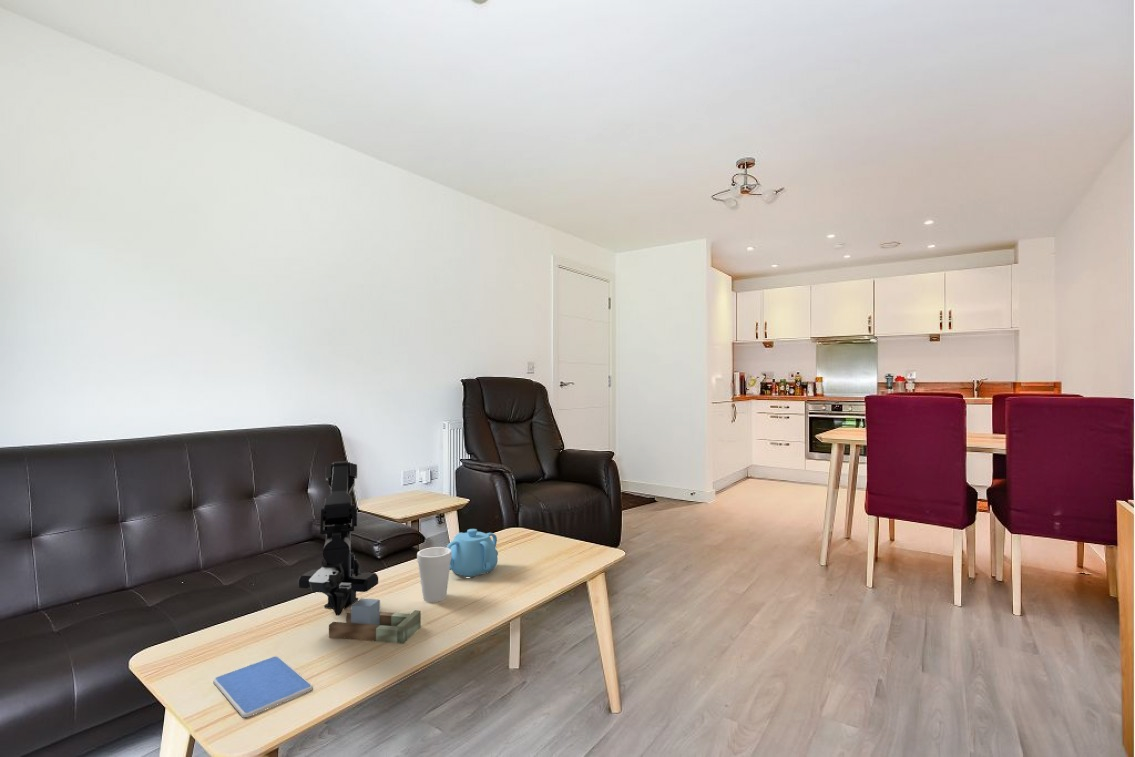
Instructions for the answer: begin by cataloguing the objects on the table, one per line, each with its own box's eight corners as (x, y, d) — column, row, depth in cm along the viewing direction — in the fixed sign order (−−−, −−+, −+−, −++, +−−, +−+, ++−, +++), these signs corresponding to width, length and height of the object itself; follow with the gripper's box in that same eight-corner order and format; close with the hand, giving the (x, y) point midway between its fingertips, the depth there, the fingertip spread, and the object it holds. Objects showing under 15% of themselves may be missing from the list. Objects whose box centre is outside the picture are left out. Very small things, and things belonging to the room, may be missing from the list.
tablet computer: (211, 683, 108) (211, 677, 108) (277, 659, 117) (277, 653, 117) (243, 722, 95) (243, 715, 95) (314, 692, 104) (314, 685, 104)
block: (351, 634, 127) (350, 605, 127) (361, 626, 132) (361, 598, 132) (369, 636, 126) (369, 607, 127) (379, 627, 131) (379, 599, 131)
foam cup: (415, 594, 152) (415, 549, 152) (447, 589, 155) (447, 545, 156) (420, 607, 143) (419, 559, 143) (454, 601, 147) (453, 554, 147)
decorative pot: (438, 579, 164) (438, 536, 164) (457, 562, 180) (457, 522, 180) (488, 582, 161) (488, 537, 161) (503, 564, 177) (503, 524, 177)
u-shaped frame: (328, 637, 126) (328, 620, 126) (350, 621, 135) (350, 605, 135) (403, 643, 123) (403, 626, 123) (420, 626, 131) (420, 610, 131)
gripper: (282, 560, 125) (282, 626, 124) (353, 564, 121) (354, 632, 121) (312, 546, 136) (313, 607, 135) (379, 549, 132) (379, 612, 132)
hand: (338, 614), depth 131 cm, fingers closed
